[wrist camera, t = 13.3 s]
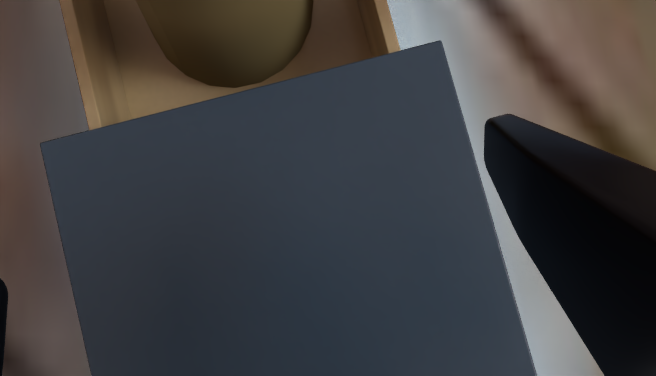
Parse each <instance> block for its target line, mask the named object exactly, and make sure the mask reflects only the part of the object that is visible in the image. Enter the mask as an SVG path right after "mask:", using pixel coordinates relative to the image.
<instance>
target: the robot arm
mask: <svg viewBox="0 0 656 376" xmlns="http://www.w3.org/2000/svg"><path fill="white" fill-rule="evenodd" d="M484 161H485V165H486V168H487V171H488V173H489V175H490V177H491V179H492V181H493V184H494V186H495V188H496V190H497V192H498V194H499V196H500V199H501V201H502V203H503V205H504V207H505V209H506V212H507V214H508V216H509V218H510V220H511V222H512V225H513V227H514V229H515V231H516V233H517V235H518V237H519V239H520V240H521V242H522V244H523V245H524V247H525V249H526V250H527V252H528V254H529V255H530V257H531V258H532V260H533V262H534V263H535V265H536V266H537V268H538V270H539V271H540V273H541V275H542V276H543V278H544V279H545V281H546V283H547V284H548V286H549V287H550V289H551V291H552V292H553V294H554V295H555V297H556V299H557V300H558V302H559V303H560V305H561V307H562V308H563V310H564V311H565V313H566V315H567V316H568V318H569V319H570V321H571V323H572V324H573V326H574V327H575V329H576V331H577V332H578V334H579V335H580V337H581V339H582V340H583V342H584V343H585V345H586V347H587V348H588V350H589V351H590V353H591V355H592V356H593V358H594V359H595V361H596V363H597V364H598V366H599V367H600V369H601V371H602V372H603V374H604V376H656V171H654V170H652V169H649V168H647V167H644V166H641V165H639V164H636V163H634V162H631V161H629V160H626V159H624V158H621V157H619V156H616V155H614V154H611V153H609V152H606V151H604V150H601V149H598V148H596V147H593V146H591V145H588V144H586V143H583V142H581V141H578V140H576V139H573V138H571V137H568V136H566V135H563V134H561V133H558V132H555V131H553V130H550V129H548V128H545V127H543V126H540V125H538V124H535V123H533V122H530V121H528V120H525V119H523V118H520V117H518V116H515V115H512V114H505V115H501V116H497V117H493V118H490V119H488V120H487V121H486V124H485V134H484ZM7 305H8V291H7V288H6V285H5V283H4V282H3V281H2V280H1V279H0V376H2V369H3V360H4V346H5V332H6V319H7Z"/></svg>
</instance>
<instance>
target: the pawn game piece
mask: <svg viewBox="0 0 656 376" xmlns="http://www.w3.org/2000/svg"><path fill="white" fill-rule="evenodd" d="M135 1H136V2H137V4H138V6H139V8H140V10H141V12H142V14H143V16H144V18H145V20H146V22H147V24H148V26H149V28H150V30H151V32H152V34H153V36H154V38H155V39H156V41H157V43H158V45H159V46H160V48H161V50H162V51H163V53H164V55H165V56H166V58H167V59H168V60H169V61H170V62H171V63H172V64H173V65H175V66H176V67H177V68H178V69H179V70H180V71H181V72H183V73H184V74H185V75H186V76H188V77H191V78H193V79H195V80H198V81H200V82H202V83H205V84H207V85H209V86H219V87H230V88H238V87H242V86H247V85H251V84H256V83H261V82H263V81H264V80H266V79H268V78H269V77H271V76H273V75H275V74H276V73H278V72H280V71H282V70H283V69H284V68H285V67H286V66H287V65H288V64H289V63H290V62H291V60H292V59H293V58H294V57H295V56H296V55H297V54H298V53H299V52H300V51H301V48H302V46H303V44H304V42H305V39H306V37H307V35H308V33H309V30H310V28H311V22H312V11H313V0H135Z"/></svg>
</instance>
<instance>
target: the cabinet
mask: <svg viewBox="0 0 656 376" xmlns="http://www.w3.org/2000/svg"><path fill="white" fill-rule="evenodd" d="M40 147H41V151H42V156H43V160H44V165H45V169H46V174H47V178H48V183H49V187H50V192H51V196H52V201H53V205H54V210H55V214H56V218H57V223H58V227H59V232H60V236H61V241H62V245H63V250H64V254H65V259H66V263H67V268H68V272H69V277H70V281H71V286H72V290H73V295H74V299H75V304H76V308H77V313H78V317H79V322H80V326H81V331H82V335H83V340H84V344H85V349H86V353H87V358H88V362H89V367H90V371H91V375H92V376H537V374H536V370H535V367H534V363H533V360H532V356H531V353H530V349H529V346H528V342H527V339H526V335H525V332H524V328H523V325H522V321H521V318H520V314H519V311H518V307H517V304H516V300H515V297H514V293H513V290H512V286H511V283H510V279H509V276H508V272H507V269H506V265H505V262H504V258H503V255H502V251H501V248H500V244H499V241H498V237H497V234H496V230H495V227H494V223H493V220H492V216H491V213H490V209H489V206H488V202H487V199H486V195H485V192H484V188H483V185H482V181H481V178H480V174H479V171H478V167H477V164H476V160H475V157H474V153H473V150H472V146H471V143H470V139H469V136H468V132H467V129H466V125H465V122H464V118H463V115H462V111H461V108H460V104H459V101H458V97H457V94H456V90H455V87H454V83H453V80H452V76H451V73H450V69H449V66H448V62H447V59H446V55H445V52H444V48H443V45H442V42H441V41H435V42H432V43H428V44H424V45H420V46H416V47H412V48H408V49H404V50H400V51H396V52H393V53H389V54H385V55H381V56H377V57H373V58H369V59H365V60H361V61H358V62H354V63H350V64H346V65H342V66H338V67H334V68H330V69H326V70H322V71H319V72H315V73H311V74H307V75H303V76H299V77H295V78H291V79H287V80H283V81H280V82H276V83H272V84H268V85H264V86H260V87H256V88H252V89H248V90H244V91H241V92H237V93H233V94H229V95H225V96H221V97H217V98H213V99H209V100H205V101H202V102H198V103H194V104H190V105H186V106H182V107H178V108H174V109H170V110H166V111H163V112H159V113H155V114H151V115H147V116H143V117H139V118H135V119H131V120H127V121H124V122H120V123H116V124H112V125H108V126H104V127H100V128H96V129H92V130H89V131H85V132H81V133H77V134H73V135H69V136H65V137H61V138H57V139H53V140H50V141H46V142H42V143H40Z"/></svg>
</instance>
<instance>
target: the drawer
mask: <svg viewBox="0 0 656 376" xmlns="http://www.w3.org/2000/svg"><path fill="white" fill-rule="evenodd" d="M59 1H60V5H61V9H62V14H63V18H64V22H65V27H66V31H67V35H68V40H69V44H70V48H71V53H72V57H73V61H74V66H75V70H76V74H77V79H78V83H79V87H80V92H81V96H82V100H83V105H84V109H85V113H86V118H87V122H88V126H89V130H92V129H96V128H100V127H104V126H108V125H112V124H116V123H120V122H124V121H127V120H131V119H135V118H139V117H143V116H147V115H151V114H155V113H159V112H163V111H166V110H170V109H174V108H178V107H182V106H186V105H190V104H194V103H198V102H202V101H205V100H209V99H213V98H217V97H221V96H225V95H229V94H233V93H237V92H241V91H244V90H248V89H252V88H256V87H260V86H264V85H268V84H272V83H276V82H280V81H283V80H287V79H291V78H295V77H299V76H303V75H307V74H311V73H315V72H319V71H322V70H326V69H330V68H334V67H338V66H342V65H346V64H350V63H354V62H358V61H361V60H365V59H369V58H373V57H377V56H381V55H385V54H389V53H393V52H396V51H400V47H399V43H398V40H397V36H396V32H395V29H394V25H393V22H392V18H391V15H390V11H389V7H388V4H387V0H313V11H312V22H311V28H310V30H309V33H308V35H307V37H306V39H305V42H304V44H303V46H302V48H301V51H300V52H299V53H298V54H297V55H296V56H295V57H294V58H293V59H292V60H291V62H290V63H289V64H288V65H287V66H286V67H285V68H284V69H283V70H282V71H280V72H278V73H276V74H275V75H273V76H271V77H269V78H268V79H266V80H264V81H263V82H261V83H256V84H251V85H247V86H242V87H238V88H230V87H219V86H209V85H207V84H205V83H202V82H200V81H198V80H195V79H193V78H191V77H188V76H186V75H185V74H184V73H183V72H181V71H180V70H179V69H178V68H177V67H176V66H175V65H173V64H172V63H171V62H170V61H169V60H168V59H167V58H166V56H165V55H164V53H163V51H162V50H161V48H160V46H159V45H158V43H157V41H156V39H155V38H154V36H153V34H152V32H151V30H150V28H149V26H148V24H147V22H146V20H145V18H144V16H143V14H142V12H141V10H140V8H139V6H138V4H137V2H136V1H135V0H59Z"/></svg>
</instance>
